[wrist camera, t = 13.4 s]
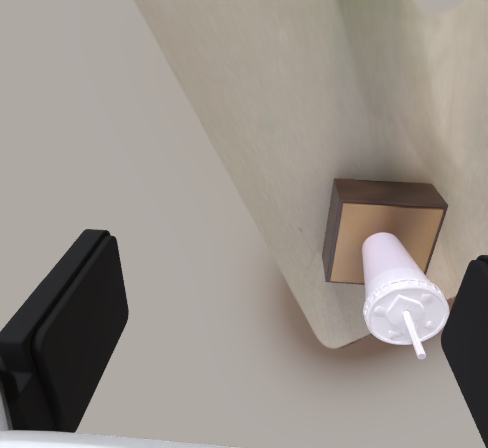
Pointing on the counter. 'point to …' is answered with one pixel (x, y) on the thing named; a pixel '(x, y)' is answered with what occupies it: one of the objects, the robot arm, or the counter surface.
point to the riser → (379, 223)
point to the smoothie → (399, 295)
